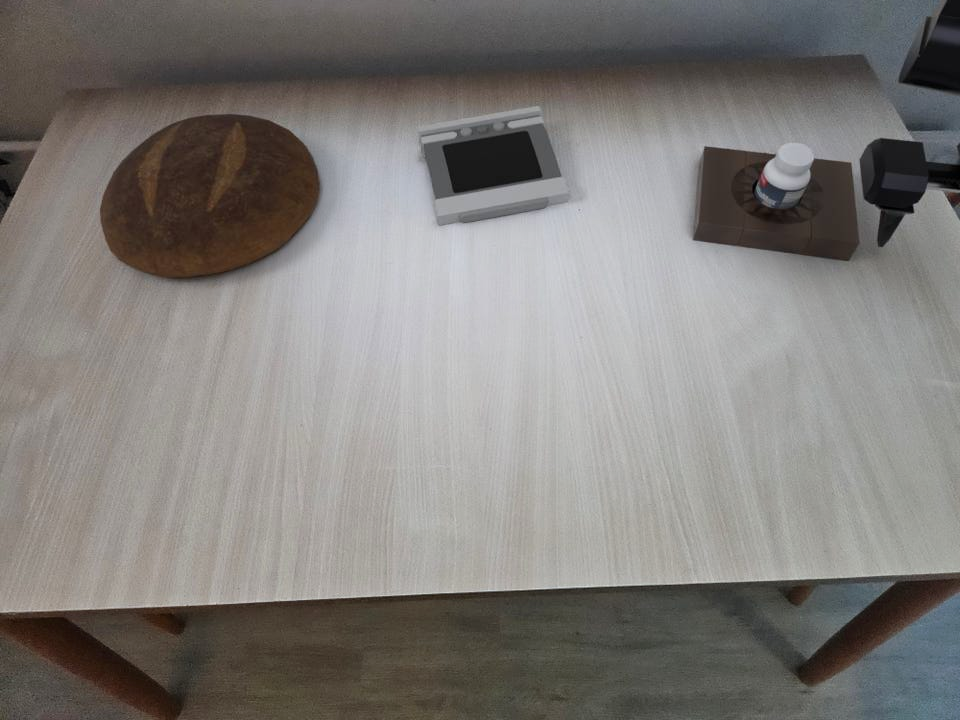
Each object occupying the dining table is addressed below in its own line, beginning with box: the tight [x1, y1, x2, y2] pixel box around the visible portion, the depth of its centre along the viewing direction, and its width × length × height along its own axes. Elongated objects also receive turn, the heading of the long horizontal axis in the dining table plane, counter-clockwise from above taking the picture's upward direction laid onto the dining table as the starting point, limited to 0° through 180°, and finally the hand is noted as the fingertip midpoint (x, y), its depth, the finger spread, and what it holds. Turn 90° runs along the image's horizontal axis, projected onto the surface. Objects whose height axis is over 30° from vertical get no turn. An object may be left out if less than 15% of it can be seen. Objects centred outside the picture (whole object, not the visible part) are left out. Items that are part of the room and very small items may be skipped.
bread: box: [99, 113, 321, 278], centre depth 83 cm, size 28×27×9 cm
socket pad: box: [692, 145, 860, 262], centre depth 80 cm, size 18×14×3 cm
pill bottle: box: [753, 142, 815, 209], centre depth 77 cm, size 5×5×9 cm
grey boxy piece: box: [417, 105, 571, 226], centre depth 86 cm, size 17×5×16 cm
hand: (931, 250), depth 61 cm, fingers open, 9 cm apart
